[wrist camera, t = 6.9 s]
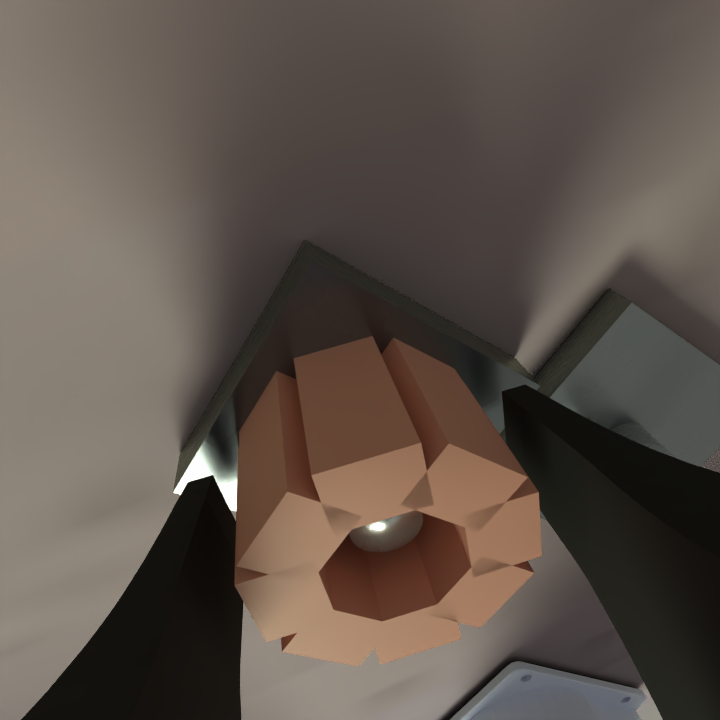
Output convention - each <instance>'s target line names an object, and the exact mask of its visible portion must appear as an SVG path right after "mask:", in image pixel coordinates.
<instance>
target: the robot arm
mask: <svg viewBox="0 0 720 720" xmlns="http://www.w3.org/2000/svg"><path fill="white" fill-rule="evenodd" d="M502 402H503V413H504V425H505V437H506V444H507V446H508V447H509V449H510V450H511V452H512V453H513V455H514V456H515V458H516V459H517V461H518V462H519V464H520V465H521V467H522V468H523V470H524V471H525V472H526V474H527V475H528V477H529V478H530V480H531V481H532V483H533V484H534V486H535V487H536V489H537V490H538V492H539V507H540V511H541V512H542V514H543V515H544V516H545V518H546V519H547V521H548V522H549V524H550V525H551V526H552V528H553V529H554V531H555V532H556V534H557V535H558V536H559V538H560V539H561V541H562V542H563V543H564V545H565V546H566V548H567V549H568V551H569V552H570V553H571V555H572V556H573V558H574V559H575V560H576V562H577V563H578V565H579V566H580V568H581V570H582V571H583V573H584V574H585V576H586V577H587V579H588V581H589V582H590V584H591V586H592V588H593V589H594V591H595V593H596V595H597V596H598V598H599V600H600V602H601V603H602V605H603V607H604V609H605V610H606V612H607V614H608V616H609V618H610V619H611V621H612V623H613V625H614V627H615V629H616V630H617V632H618V634H619V636H620V638H621V640H622V641H623V643H624V645H625V647H626V649H627V651H628V653H629V654H630V656H631V658H632V660H633V662H634V664H635V666H636V668H637V670H638V672H639V673H640V675H641V677H642V679H643V681H644V683H645V685H646V687H647V689H648V691H649V693H650V695H651V697H652V699H653V701H654V702H655V704H656V706H657V708H658V710H659V712H660V714H661V716H662V718H663V720H720V473H718V472H715V471H712V470H708V469H705V468H702V467H699V466H696V465H693V464H690V463H688V462H685V461H682V460H680V459H677V458H674V457H672V456H669V455H666V454H664V453H661V452H658V451H656V450H654V449H651V448H649V447H646V446H644V445H642V444H639V443H637V442H635V441H633V440H631V439H628V438H626V437H624V436H622V435H620V434H617V433H615V432H613V431H611V430H609V429H607V428H605V427H603V426H601V425H599V424H597V423H595V422H593V421H591V420H589V419H587V418H585V417H583V416H582V415H580V414H578V413H576V412H574V411H572V410H570V409H569V408H567V407H565V406H563V405H561V404H560V403H558V402H556V401H554V400H553V399H551V398H549V397H547V396H545V395H544V394H542V393H540V392H538V391H537V390H535V389H533V388H531V387H529V386H527V385H526V384H525V385H521V386H518V387H515V388H511V389H508V390H504V391H502ZM235 545H236V521H235V519H234V517H233V515H232V513H231V511H230V509H229V507H228V505H227V502H226V500H225V498H224V496H223V494H222V492H221V490H220V488H219V486H218V484H217V482H216V480H215V478H214V476H213V475H211V476H207V477H204V478H200V479H197V480H194V481H190V482H188V483H187V484H186V486H185V488H184V490H183V491H182V493H181V495H180V497H179V499H178V501H177V502H176V504H175V506H174V508H173V510H172V512H171V514H170V515H169V517H168V519H167V521H166V523H165V525H164V526H163V528H162V530H161V532H160V534H159V535H158V537H157V539H156V541H155V542H154V544H153V546H152V548H151V549H150V551H149V553H148V555H147V556H146V558H145V560H144V561H143V563H142V565H141V566H140V568H139V570H138V571H137V573H136V574H135V576H134V577H133V579H132V581H131V582H130V584H129V585H128V587H127V588H126V590H125V592H124V593H123V595H122V596H121V598H120V599H119V601H118V602H117V604H116V605H115V607H114V608H113V609H112V611H111V612H110V614H109V615H108V617H107V618H106V619H105V621H104V622H103V623H102V625H101V626H100V627H99V629H98V630H97V631H96V633H95V634H94V635H93V637H92V638H91V639H90V641H89V642H88V643H87V644H86V646H85V647H84V648H83V649H82V651H81V652H80V653H79V654H78V655H77V657H76V658H75V659H74V660H73V661H72V663H71V664H70V665H69V666H68V667H67V668H66V670H65V671H64V672H63V673H62V674H61V676H60V677H59V678H58V679H57V680H56V682H55V683H54V684H53V685H52V686H51V688H50V689H49V690H48V691H47V692H46V693H45V694H44V695H43V697H42V698H41V699H40V700H39V701H38V702H37V703H36V704H35V705H34V706H33V707H32V709H31V710H30V711H29V712H28V713H27V714H26V715H25V716H24V717H23V718H22V719H21V720H241V702H240V658H241V638H242V618H243V600H242V598H241V596H240V594H239V592H238V591H237V589H236V587H235V585H234V582H235ZM646 700H647V697H646V695H645V694H644V692H643V691H642V690H640V689H636V688H632V687H627V686H623V685H619V684H615V683H610V682H606V681H602V680H598V679H593V678H589V677H585V676H581V675H576V674H572V673H568V672H563V671H559V670H555V669H551V668H546V667H542V666H538V665H534V664H529V663H525V662H521V661H516V662H513V663H510V664H509V665H507V666H506V667H505V668H504V669H503V670H502V671H501V672H500V673H499V674H498V675H497V676H496V677H495V678H494V679H492V680H491V681H490V682H489V683H488V684H487V685H486V686H485V687H484V688H483V689H482V690H481V691H480V692H479V693H478V694H476V695H475V696H474V697H473V698H472V699H471V700H470V701H469V702H468V703H467V704H466V705H465V706H464V707H463V708H462V709H461V710H459V711H458V712H457V713H456V714H455V715H454V716H453V717H452V718H451V719H450V720H641V719H640V717H639V715H638V714H637V712H636V709H638V708H639V707H640V706H641V705H643V704H644V703H645V702H646Z"/></svg>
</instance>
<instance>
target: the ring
mask: <svg viewBox="0 0 720 720" xmlns="http://www.w3.org/2000/svg"><path fill="white" fill-rule="evenodd" d="M293 359H294V365H295V372H296V378H297V379H294V378H292V377H290V376H287V375H285V374H283V373H280V372H278V371H276V372H275V374H274V376H273V377H272V379H271V381H270V382H269V384H268V385H267V387H266V389H265V390H264V392H263V394H262V395H261V397H260V399H259V400H258V402H257V403H256V405H255V407H254V408H253V410H252V412H251V413H250V415H249V416H248V418H247V420H246V421H245V423H244V425H243V426H242V428H241V430H240V431H239V448H238V471H237V508H236V545H235V582H234V585H235V587H236V589H237V591H238V592H239V594H240V596H241V598H242V600H243V601H244V603H245V605H246V607H247V609H248V610H249V612H250V614H251V616H252V618H253V619H254V621H255V623H256V625H257V627H258V628H259V630H260V632H261V634H262V636H263V637H264V639H265V641H266V642H269V641H272V640H275V639H278V638H281V642H282V652H285V653H290V654H296V655H301V656H306V657H312V658H317V659H322V660H327V661H333V662H338V663H343V664H348V665H354V666H359V665H360V664H361V663H362V662H363V661H364V660H365V659H366V657H367V656H368V655H369V654H370V653H371V652H372V651H373V650H374V649H375V651H376V654H377V657H378V660H379V662H380V665H381V664H384V663H387V662H390V661H393V660H396V659H399V658H403V657H406V656H409V655H412V654H415V653H418V652H422V651H425V650H428V649H431V648H434V647H437V646H440V645H444V644H447V643H450V642H453V641H456V640H459V639H461V635H460V630H459V626H458V622H459V623H463V624H467V625H471V626H475V627H479V628H480V627H481V626H482V625H483V624H484V623H485V622H486V621H487V620H488V619H489V618H490V617H491V616H492V615H493V614H494V613H495V612H496V611H497V610H498V609H499V608H500V607H501V606H502V605H503V604H504V603H505V602H506V601H507V600H508V599H509V598H510V597H511V596H512V595H513V594H514V593H515V592H516V591H517V590H518V589H519V588H520V587H521V586H522V585H523V584H524V583H525V582H526V581H527V580H528V579H529V578H530V577H531V576H532V575H533V574H534V571H533V570H532V568H531V566H530V564H529V563H528V560H531V559H535V558H538V557H541V556H542V545H541V526H540V507H539V492H538V490H537V489H536V487H535V486H534V484H533V483H532V481H531V480H530V478H529V477H528V475H527V474H526V472H525V471H524V470H523V468H522V467H521V465H520V464H519V462H518V461H517V459H516V458H515V456H514V455H513V453H512V452H511V450H510V449H509V447H508V446H507V444H506V443H505V442H504V440H503V439H502V437H501V436H500V434H499V433H498V431H497V430H496V428H495V427H494V425H493V424H492V422H491V421H490V419H489V418H488V416H487V415H486V413H485V412H484V411H483V409H482V408H481V406H480V405H479V403H478V402H477V400H476V399H475V397H474V396H473V394H472V393H471V391H470V390H469V388H468V387H467V385H466V384H465V382H463V380H462V379H461V378H460V376H459V375H458V373H457V372H456V370H455V369H454V368H452V367H450V366H448V365H446V364H444V363H442V362H440V361H439V360H437V359H435V358H433V357H431V356H429V355H427V354H425V353H423V352H421V351H419V350H417V349H415V348H413V347H411V346H409V345H407V344H405V343H403V342H401V341H399V340H397V339H395V338H392V340H391V341H390V343H389V344H388V346H387V347H386V349H385V350H384V351H383V353H382V354H381V353H380V351H379V349H378V347H377V345H376V342H375V340H374V338H373V336H370V337H367V338H363V339H360V340H356V341H353V342H349V343H346V344H342V345H339V346H335V347H332V348H328V349H325V350H321V351H318V352H314V353H311V354H307V355H304V356H300V357H297V358H293ZM414 510H417V511H420V512H422V514H423V523H422V527H421V529H420V531H419V533H418V534H417V535H416V536H415V537H414V538H413V539H412V540H411V541H410V542H409V543H407V544H406V545H404V546H402V547H400V548H398V549H395V550H392V551H388V552H369V551H365V550H362V549H360V548H359V547H357V546H356V545H355V544H354V543H353V542H352V540H351V539H350V536H349V532H350V531H351V530H352V529H355V528H358V527H361V526H365V525H368V524H371V523H375V522H378V521H381V520H384V519H388V518H391V517H394V516H398V515H401V514H404V513H408V512H411V511H414Z"/></svg>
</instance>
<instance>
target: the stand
mask: <svg viewBox="0 0 720 720" xmlns="http://www.w3.org/2000/svg"><path fill="white" fill-rule="evenodd" d="M534 379H535V380H536V381H537V383H538V384H539V385H540V387H539V388H538V389H537V391H538V392H540V393H542V394H544V395H545V396H547V397H549V398H551V399H553V400H554V401H556V402H558V403H560V404H561V405H563V406H565V407H567V408H569V409H570V410H572V411H574V412H576V413H578V414H580V415H582V416H583V417H585V418H587V419H589V420H591V421H593V422H595V423H597V424H599V425H601V426H603V427H605V428H607V429H609V430H611V431H613V432H615V433H617V434H620V435H622V436H624V437H626V438H628V439H631V440H633V441H635V442H637V443H639V444H642V445H644V446H646V447H649V448H651V449H654V450H656V451H658V452H661V453H664V454H666V455H669V456H672V457H674V458H677V459H680V460H682V461H685V462H688V463H690V464H693V465H696V466H699V467H700V466H701V465H702V464H703V463H704V462H705V461H706V460H707V459H708V458H709V457H710V456H711V455H713V454H714V453H715V452H716V451H717V450H718V449H719V448H720V365H719V364H718V363H716V362H715V361H714V360H712V359H711V358H709V357H708V356H707V355H705V354H704V353H702V352H701V351H699V350H698V349H697V348H695V347H694V346H692V345H691V344H690V343H688V342H687V341H685V340H684V339H683V338H681V337H680V336H678V335H677V334H676V333H674V332H673V331H671V330H670V329H669V328H667V327H666V326H664V325H663V324H662V323H660V322H659V321H657V320H656V319H655V318H653V317H652V316H650V315H649V314H648V313H646V312H645V311H643V310H642V309H641V308H639V307H638V306H636V305H635V304H634V303H632V302H631V301H629V300H627V299H626V298H624V297H623V296H621V295H619V294H618V293H616V292H614V291H613V290H611V289H610V288H609V289H608V290H607V292H606V293H605V294H604V295H603V296H602V298H601V299H600V300H599V301H598V302H597V304H596V305H595V306H594V307H593V308H592V310H591V311H590V312H589V313H588V314H587V316H586V317H585V318H584V319H583V320H582V321H581V323H580V324H579V325H578V326H577V327H576V329H575V330H574V331H573V332H572V333H571V335H570V336H569V337H568V338H567V339H566V341H565V342H564V343H563V344H562V345H561V347H560V348H559V349H558V350H557V351H556V353H555V354H554V355H553V356H552V357H551V359H550V360H549V361H548V362H547V363H546V365H545V366H544V367H543V368H542V369H541V371H540V372H539V373H538V374H537V375H536V377H535V378H534ZM500 436H501V437H502V439H503V440H504V442H505V443H506V437H505V428H504V429H503V431H502V432H501V433H500ZM540 518H542V519H545V520H547V519H546V518H545V516H544V515H543V514H542V512H541V511H540Z"/></svg>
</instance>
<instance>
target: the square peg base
mask: <svg viewBox="0 0 720 720" xmlns="http://www.w3.org/2000/svg"><path fill="white" fill-rule="evenodd" d="M370 336H373V338H374V340H375V342H376V345H377V347H378V349H379V351H380V353H381V354H382V353H383V351H384V350H385V349H386V347H387V346H388V344H389V343H390V341H391V340H392V338H395V339H397V340H399V341H401V342H403V343H405V344H407V345H409V346H411V347H413V348H415V349H417V350H419V351H421V352H423V353H425V354H427V355H429V356H431V357H433V358H435V359H437V360H439V361H440V362H442V363H444V364H446V365H448V366H450V367H452V368H454V369H455V370H456V372H457V373H458V375H459V376H460V378H461V379H462V380H463V382H465V384H466V385H467V387H468V388H469V390H470V391H471V393H472V394H473V396H474V397H475V399H476V400H477V402H478V403H479V405H480V406H481V408H482V409H483V411H484V412H485V413H486V415H487V416H488V418H489V419H490V421H491V422H492V424H493V425H494V427H495V428H496V430H497V431H498V433H499V434H500V433H501V432H502V431H503V429H504V428H505V425H504V413H503V402H502V391H504V390H508V389H511V388H515V387H518V386H521V385H525V384H526V385H527V386H529V387H531V388H533V389H535V390H537V389H538V388H539V387H540V385H539V384H538V383H537V381H536V380H535V379H534V378H533V377H532V376H531V375H530V374H529V373H528V372H527V370H526V369H525V368H524V367H523V366H522V365H521V364H520V363H519V362H518V361H517V359H516V358H514V357H512V356H510V355H509V354H507V353H505V352H503V351H502V350H500V349H498V348H496V347H494V346H493V345H491V344H489V343H487V342H485V341H484V340H482V339H480V338H478V337H477V336H475V335H473V334H471V333H469V332H468V331H466V330H464V329H462V328H461V327H459V326H457V325H455V324H453V323H452V322H450V321H448V320H446V319H445V318H443V317H441V316H439V315H437V314H436V313H434V312H432V311H430V310H429V309H427V308H425V307H423V306H421V305H420V304H418V303H416V302H414V301H413V300H411V299H409V298H407V297H405V296H404V295H402V294H400V293H398V292H396V291H395V290H393V289H391V288H389V287H388V286H386V285H384V284H382V283H380V282H379V281H377V280H375V279H373V278H372V277H370V276H368V275H366V274H364V273H363V272H361V271H359V270H357V269H356V268H354V267H352V266H350V265H348V264H347V263H345V262H343V261H341V260H340V259H338V258H336V257H334V256H332V255H331V254H329V253H327V252H325V251H324V250H322V249H320V248H318V247H316V246H315V245H313V244H311V243H309V242H307V241H306V240H305V241H304V242H303V244H302V246H301V248H300V249H299V251H298V253H297V254H296V256H295V258H294V260H293V261H292V263H291V265H290V266H289V268H288V270H287V272H286V273H285V275H284V277H283V278H282V280H281V282H280V284H279V285H278V287H277V289H276V290H275V292H274V294H273V296H272V297H271V299H270V301H269V302H268V304H267V306H266V308H265V309H264V311H263V313H262V314H261V316H260V318H259V320H258V321H257V323H256V325H255V326H254V328H253V330H252V332H251V333H250V335H249V337H248V338H247V340H246V342H245V344H244V345H243V347H242V349H241V350H240V352H239V354H238V356H237V357H236V359H235V361H234V363H233V364H232V366H231V368H230V369H229V371H228V373H227V375H226V376H225V378H224V380H223V381H222V383H221V385H220V387H219V388H218V390H217V392H216V393H215V395H214V397H213V399H212V400H211V402H210V404H209V405H208V407H207V409H206V411H205V412H204V414H203V416H202V417H201V419H200V421H199V423H198V424H197V426H196V428H195V429H194V431H193V433H192V435H191V436H190V438H189V440H188V441H187V443H186V445H185V447H184V448H183V450H182V452H181V453H180V456H179V462H178V468H177V473H176V479H175V485H174V490H173V493H177V494H180V495H181V493H182V491H183V490H184V488H185V486H186V484H187V483H188V482H190V481H194V480H197V479H200V478H204V477H207V476H211V475H213V476H214V478H215V480H216V482H217V484H218V486H219V488H220V490H221V492H222V494H223V496H224V498H225V500H226V502H227V505H228V507H229V509H230V510H232V511H236V508H237V471H238V448H239V431H240V430H241V428H242V426H243V425H244V423H245V421H246V420H247V418H248V416H249V415H250V413H251V412H252V410H253V408H254V407H255V405H256V403H257V402H258V400H259V399H260V397H261V395H262V394H263V392H264V390H265V389H266V387H267V385H268V384H269V382H270V381H271V379H272V377H273V376H274V374H275V372H276V371H278V372H280V373H283V374H285V375H287V376H290V377H292V378H294V379H297V378H296V372H295V365H294V359H293V358H297V357H300V356H304V355H307V354H311V353H314V352H318V351H321V350H325V349H328V348H332V347H335V346H339V345H342V344H346V343H349V342H353V341H356V340H360V339H363V338H367V337H370ZM422 523H423V514H422V512H420V511H417V510H414V511H411V512H408V513H404V514H401V515H398V516H394V517H391V518H388V519H384V520H381V521H378V522H375V523H371V524H368V525H365V526H361V527H358V528H355V529H352V530H351V531H350V532H349V536H350V539H351V540H352V542H353V543H354V544H355V545H356V546H357V547H359V548H360V549H362V550H365V551H369V552H388V551H392V550H395V549H398V548H400V547H402V546H404V545H406V544H407V543H409V542H410V541H411V540H412V539H413V538H414V537H415V536H416V535H417V534H418V533H419V531H420V529H421V527H422Z"/></svg>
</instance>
